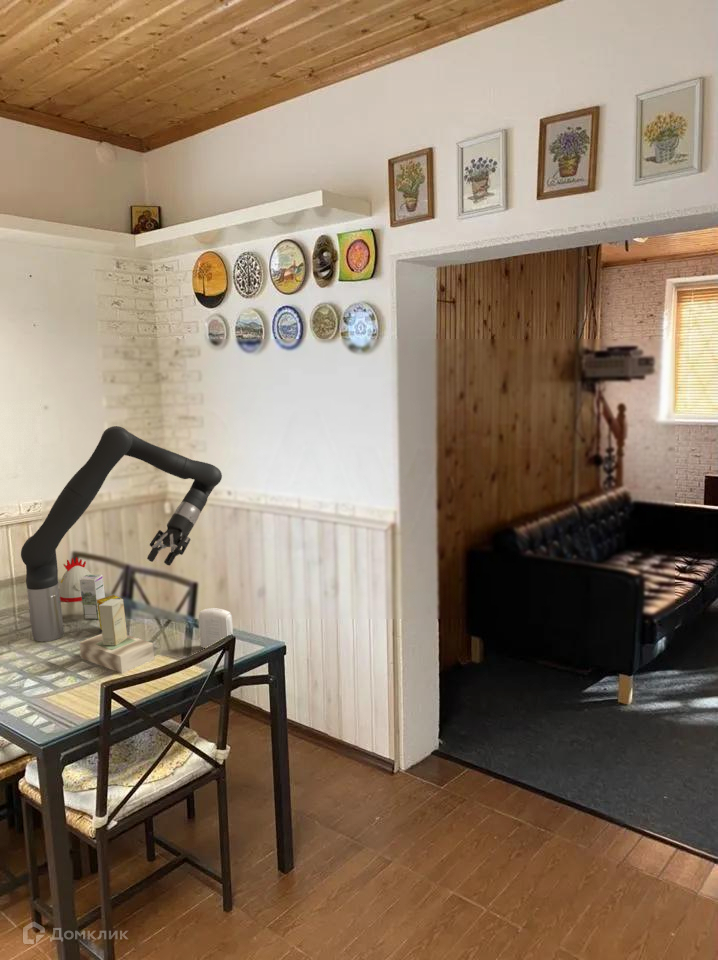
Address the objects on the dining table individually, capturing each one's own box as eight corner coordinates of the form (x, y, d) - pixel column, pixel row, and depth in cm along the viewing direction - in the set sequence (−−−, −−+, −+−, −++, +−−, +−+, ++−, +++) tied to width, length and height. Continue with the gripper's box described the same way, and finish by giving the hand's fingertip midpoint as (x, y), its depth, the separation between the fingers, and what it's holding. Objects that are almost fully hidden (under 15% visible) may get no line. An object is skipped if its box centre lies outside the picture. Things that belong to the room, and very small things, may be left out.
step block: (81, 658, 214) (79, 641, 213) (113, 645, 222) (111, 629, 221) (122, 673, 202) (120, 655, 201) (154, 659, 211) (152, 642, 210)
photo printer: (236, 646, 217) (233, 607, 215) (229, 652, 213) (226, 612, 211) (205, 643, 220) (202, 605, 218) (198, 649, 216) (195, 610, 214)
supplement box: (117, 626, 239) (113, 594, 237) (125, 630, 235) (122, 598, 233) (99, 631, 235) (96, 599, 233) (108, 635, 231) (104, 603, 229)
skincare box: (116, 646, 208) (111, 606, 206) (102, 645, 209) (98, 605, 207) (128, 637, 214) (124, 598, 212) (114, 637, 215) (110, 598, 213)
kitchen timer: (53, 596, 273) (48, 558, 270) (89, 587, 282) (85, 550, 280) (67, 604, 263) (63, 565, 260) (104, 595, 272) (100, 556, 269)
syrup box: (107, 613, 251) (103, 573, 249) (98, 620, 245) (94, 579, 243) (92, 613, 252) (88, 573, 250) (83, 619, 246) (78, 578, 244)
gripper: (162, 510, 234) (136, 553, 227) (191, 514, 226) (164, 559, 219) (177, 523, 239) (151, 565, 232) (205, 527, 231) (180, 571, 224)
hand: (158, 562), depth 226 cm, fingers open, 8 cm apart
